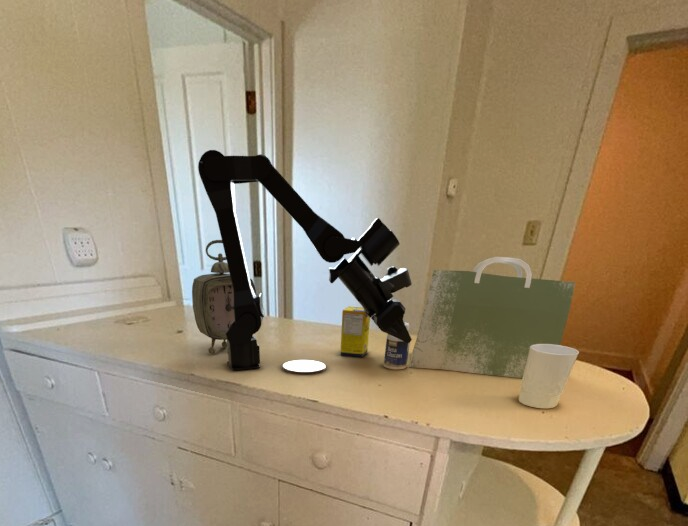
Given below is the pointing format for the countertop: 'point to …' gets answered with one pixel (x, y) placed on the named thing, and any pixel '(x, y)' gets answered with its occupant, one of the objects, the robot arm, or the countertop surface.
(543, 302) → the grocery bag
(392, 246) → the robot arm
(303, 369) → the white disc
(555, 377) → the white cup
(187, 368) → the countertop surface
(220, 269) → the tabletop clock
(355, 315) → the supplement box
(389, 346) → the pill bottle
